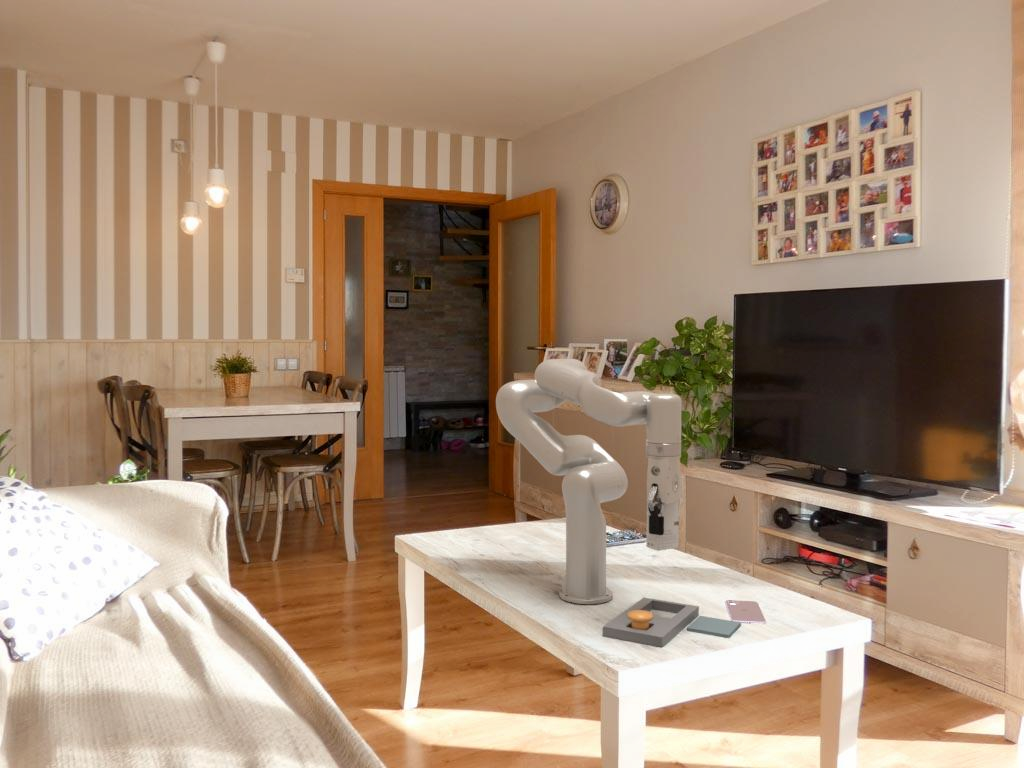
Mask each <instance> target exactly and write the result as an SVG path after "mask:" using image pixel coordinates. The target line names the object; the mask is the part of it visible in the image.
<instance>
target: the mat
mask: <svg viewBox="0 0 1024 768" xmlns="http://www.w3.org/2000/svg"><path fill="white" fill-rule="evenodd" d="M741 626H742V623H741V622H735V621H731V620H730V619H729V620H727V619H722V618H716V617H710V616H704V615H698V616H697V617H696V618H695V619H694V620H693V622H690V623H689V624H688V625H687V626H686V631H689V632H693V633H694V632H695V633H699V634H705V635H710V636H717V637H721V638H728V639H729V638H731V637H732V636H733V634H734V633H735V632H736V631H737V630H738V629H739V628H740V627H741Z"/></svg>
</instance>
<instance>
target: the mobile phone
mask: <svg viewBox="0 0 1024 768" xmlns="http://www.w3.org/2000/svg"><path fill="white" fill-rule="evenodd" d="M724 604H725V608H726V610H727V612H728V613H727V614H728V616H729V621H735V622H741V624H751V623H766V624H767V619H766V617H765V616H764V613H763V612H762V609H761V606H760V605H759V603H758V602H757V601H754V600H753V601H752V600H735V599H728V600H725V601H724ZM748 622H749V623H748Z"/></svg>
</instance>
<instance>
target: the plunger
mask: <svg viewBox="0 0 1024 768" xmlns="http://www.w3.org/2000/svg"><path fill="white" fill-rule="evenodd" d="M653 615H654V613H653V612H652V611H645V610H633V611H630V612H628V619H630V620H632V628H635V629H641V630H646V631H647V630H648V629H649V621H651V620H652V619H653Z"/></svg>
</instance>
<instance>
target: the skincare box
mask: <svg viewBox="0 0 1024 768" xmlns="http://www.w3.org/2000/svg"><path fill="white" fill-rule="evenodd" d="M655 501H657V502H661V499H660V498H659V499H656V500H655ZM656 506H657V505H656ZM657 507H658V509H659V507H660V506H657ZM648 513H649V509H648V504H647V503H646V537H645V538H646V543H645V546H646V547H647V548H648V549H651V550H654V551H656V552H657V551H658V552H659V551H660V552H661V551H664V550H665V551H666V550H671V549H673V550H674V549H677V548H679V546H680V545H679V543H680V542H679V540H680V539H679V535H680V534H679V533H680V531H679V529H680V527H679V526H680V525H679V524H680V523H679V522H680V520H679V519H680V499H679V494H678V500H677V501H675V502H673V503H671V504H669V505H666V504H665V503H664V508H663V514H662V516H663V517H664V534H663V535H655V534H650V533H649V514H648Z"/></svg>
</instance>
